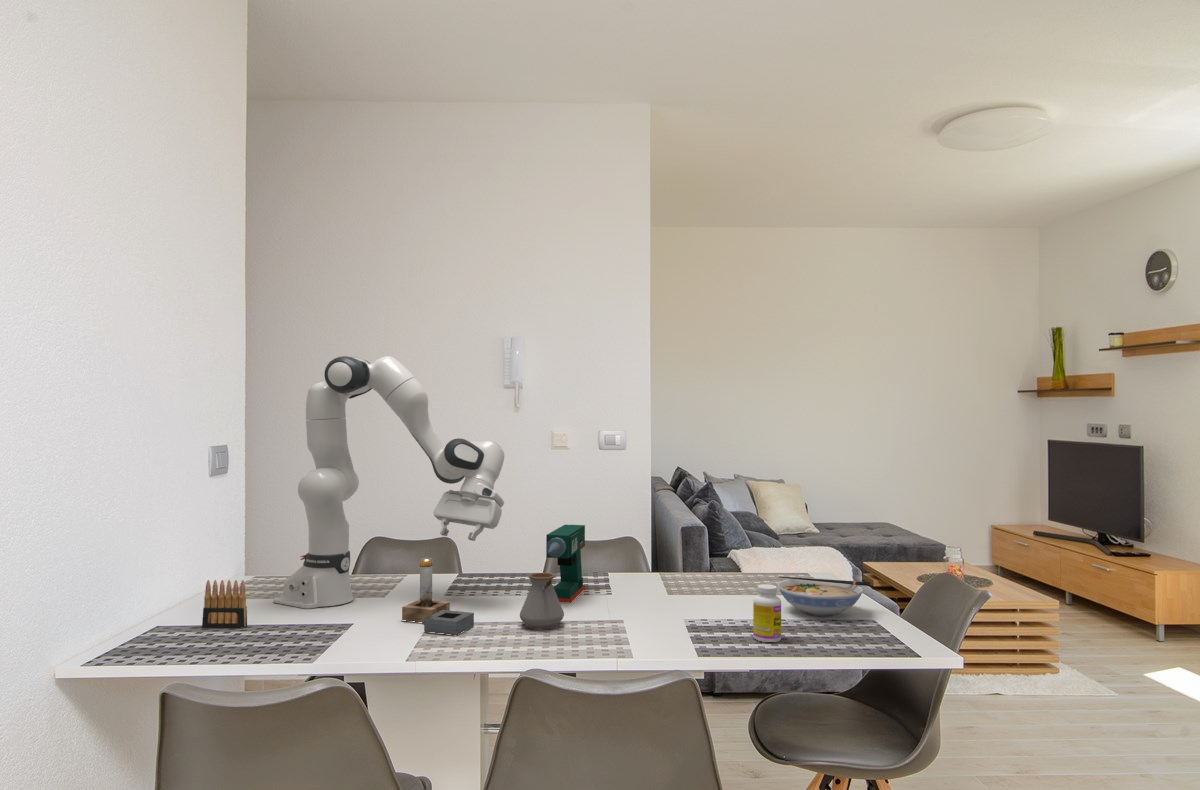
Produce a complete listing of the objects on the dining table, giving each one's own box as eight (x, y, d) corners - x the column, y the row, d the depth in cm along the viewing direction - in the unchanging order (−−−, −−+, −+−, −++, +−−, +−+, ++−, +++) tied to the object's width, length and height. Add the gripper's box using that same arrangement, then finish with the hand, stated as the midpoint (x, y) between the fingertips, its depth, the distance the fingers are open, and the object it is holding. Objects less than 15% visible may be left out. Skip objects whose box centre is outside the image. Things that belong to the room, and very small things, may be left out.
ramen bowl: (764, 617, 203) (764, 587, 203) (782, 599, 223) (782, 571, 223) (862, 629, 192) (862, 597, 192) (871, 609, 212) (871, 579, 213)
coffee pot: (517, 620, 199) (517, 563, 199) (560, 618, 201) (560, 562, 201) (525, 644, 178) (526, 580, 178) (573, 642, 180) (573, 578, 181)
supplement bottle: (775, 645, 178) (775, 590, 178) (749, 640, 182) (749, 587, 182) (785, 638, 184) (784, 585, 184) (759, 634, 187) (758, 582, 188)
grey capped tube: (417, 616, 199) (417, 559, 200) (424, 613, 202) (423, 557, 203) (428, 617, 198) (428, 560, 199) (435, 614, 201) (435, 558, 202)
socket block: (424, 632, 187) (424, 618, 187) (442, 623, 196) (443, 609, 196) (456, 636, 184) (456, 621, 185) (473, 626, 193) (473, 612, 193)
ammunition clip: (247, 626, 193) (248, 579, 193) (243, 628, 191) (244, 580, 191) (205, 626, 193) (206, 579, 193) (201, 628, 191) (202, 580, 191)
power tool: (561, 615, 205) (561, 541, 205) (536, 613, 206) (536, 540, 207) (586, 589, 236) (586, 524, 237) (565, 587, 237) (565, 524, 238)
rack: (402, 621, 197) (402, 606, 198) (420, 613, 206) (420, 599, 206) (432, 624, 195) (432, 609, 195) (449, 615, 203) (449, 601, 203)
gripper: (440, 484, 220) (421, 527, 213) (500, 492, 211) (482, 537, 204) (450, 494, 224) (432, 536, 217) (509, 503, 216) (492, 547, 209)
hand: (457, 537), depth 211 cm, fingers open, 8 cm apart
